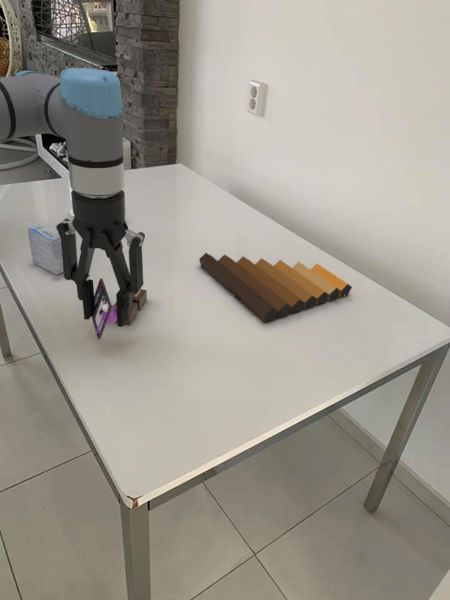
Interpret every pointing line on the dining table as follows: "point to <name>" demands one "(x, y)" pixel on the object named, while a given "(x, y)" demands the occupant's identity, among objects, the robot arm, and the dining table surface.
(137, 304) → the brown segmented bar
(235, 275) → the pan flute
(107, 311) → the game card
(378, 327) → the dining table surface
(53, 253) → the medicine box
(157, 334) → the dining table surface
